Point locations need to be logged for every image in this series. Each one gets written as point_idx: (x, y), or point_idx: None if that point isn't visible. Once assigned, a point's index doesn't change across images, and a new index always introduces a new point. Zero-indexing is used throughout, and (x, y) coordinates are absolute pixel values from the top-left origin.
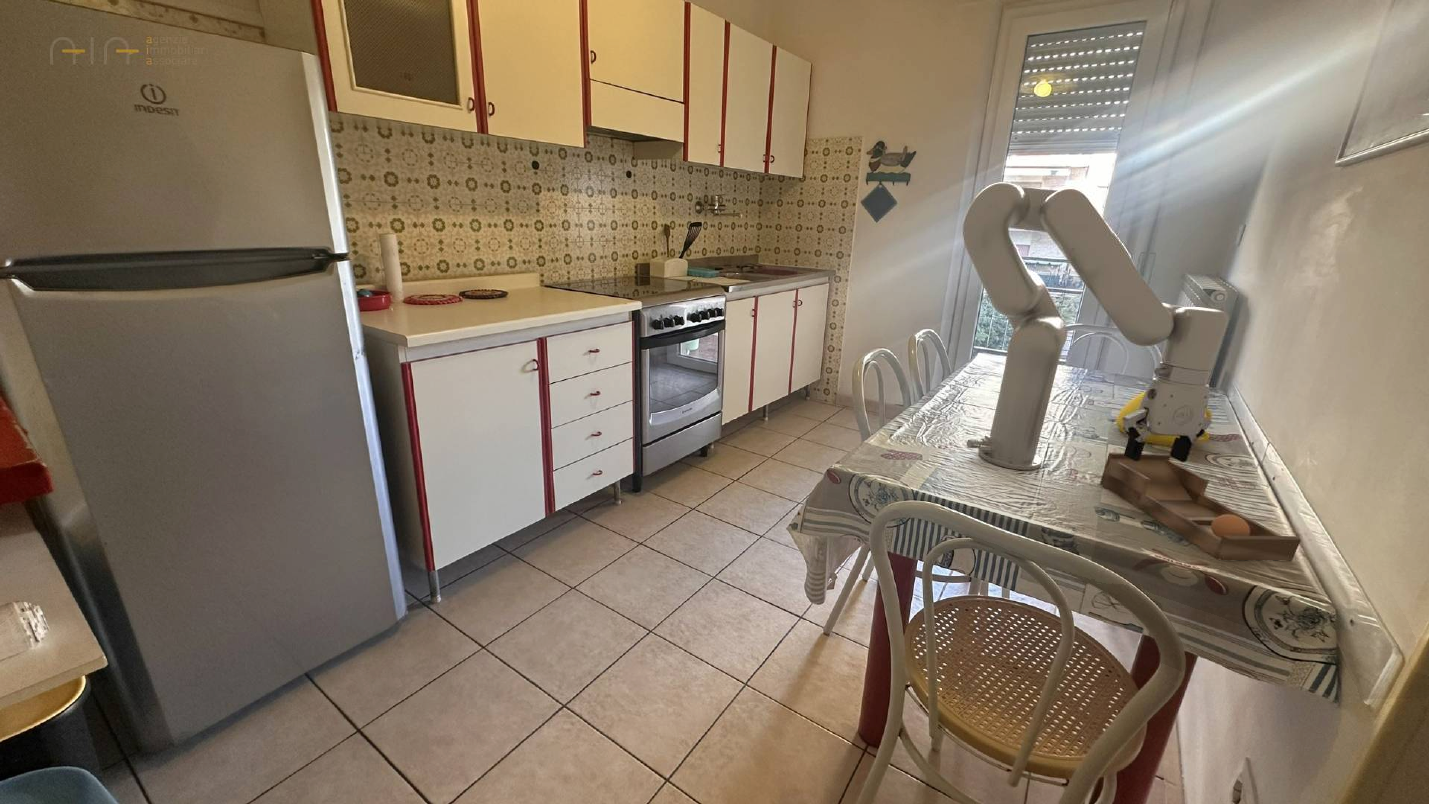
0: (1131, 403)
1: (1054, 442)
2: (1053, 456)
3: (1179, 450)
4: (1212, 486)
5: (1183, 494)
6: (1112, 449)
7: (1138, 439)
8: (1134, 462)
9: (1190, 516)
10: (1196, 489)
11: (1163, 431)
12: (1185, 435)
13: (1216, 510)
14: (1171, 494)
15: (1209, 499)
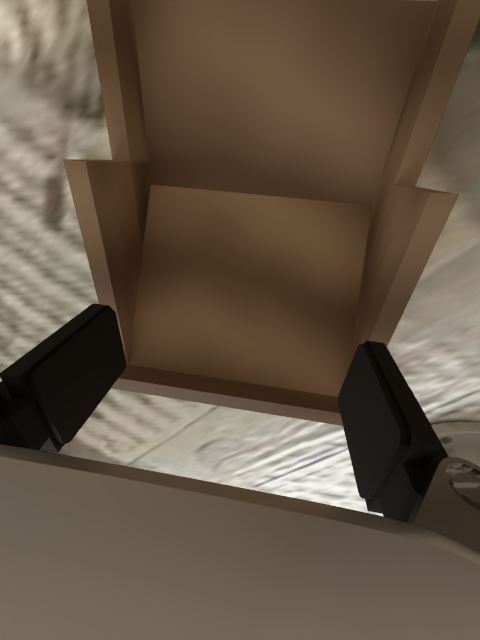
0: None
1: (239, 486)
2: (306, 453)
3: (91, 366)
4: (7, 292)
5: (167, 211)
6: (135, 450)
7: (475, 485)
8: (267, 370)
9: (295, 9)
10: (127, 188)
11: (402, 596)
12: (32, 453)
13: (130, 47)
14: (216, 214)
15: (122, 103)
